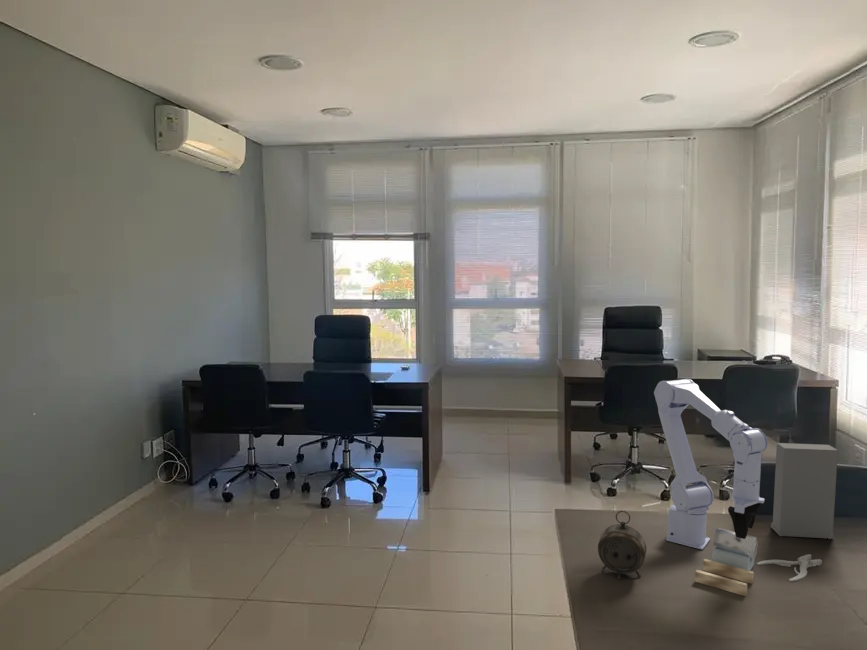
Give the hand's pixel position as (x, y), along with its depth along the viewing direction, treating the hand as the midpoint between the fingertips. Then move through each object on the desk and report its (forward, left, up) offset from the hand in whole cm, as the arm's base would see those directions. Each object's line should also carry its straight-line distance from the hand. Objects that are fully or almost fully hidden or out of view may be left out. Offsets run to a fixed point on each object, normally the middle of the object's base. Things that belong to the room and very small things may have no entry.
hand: (744, 532), depth 155 cm
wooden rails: (-2, -10, -9) cm, 14 cm away
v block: (-2, 0, -9) cm, 9 cm away
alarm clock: (-22, -22, -9) cm, 33 cm away
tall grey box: (+9, +32, -10) cm, 34 cm away
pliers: (+10, +8, -10) cm, 16 cm away
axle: (-2, 0, -6) cm, 6 cm away
